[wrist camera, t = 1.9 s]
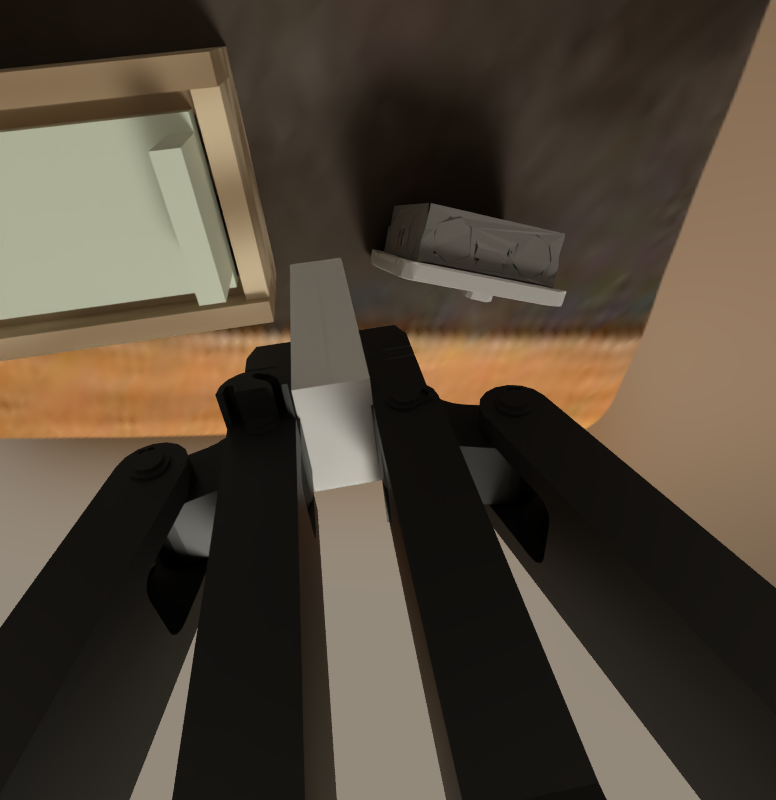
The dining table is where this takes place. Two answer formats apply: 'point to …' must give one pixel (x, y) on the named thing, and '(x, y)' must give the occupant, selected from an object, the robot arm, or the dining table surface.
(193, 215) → the lid
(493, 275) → the electrical switch
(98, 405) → the dining table surface
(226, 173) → the pencil box
